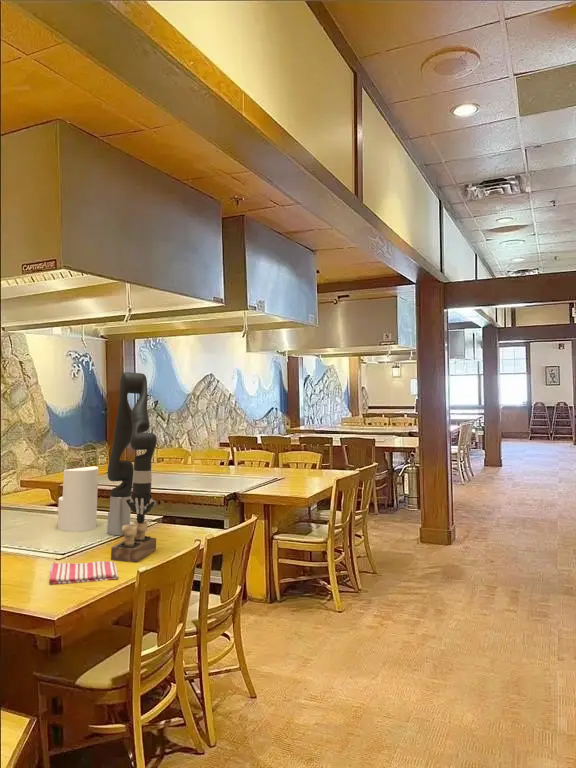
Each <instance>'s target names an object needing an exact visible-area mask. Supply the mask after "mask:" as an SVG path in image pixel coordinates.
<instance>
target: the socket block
mask: <svg viewBox="0 0 576 768" xmlns="http://www.w3.org/2000/svg"><path fill="white" fill-rule="evenodd" d="M110 548H111V550H110V560H111V561H119V562H128V561H130V563H131V562H132V563H138V562H140V561H141V560H143V559H145V558H146V557H147V556H149V555H150V553H151V554H152V553H154V552H155V551H156V550H157V537H152V536H148V535H145V539H144V540H139V539H135V537H134V545H133V546H124V539H123V540H121V541H120V542H118V543H116V544H114V545H112V546H111V547H110ZM153 551H154V552H153ZM148 554H149V555H148ZM145 556H146V557H145ZM142 558H143V559H142ZM139 560H140V561H139Z"/></svg>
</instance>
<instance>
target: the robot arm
mask: <svg viewBox="0 0 576 768" xmlns="http://www.w3.org/2000/svg"><path fill="white" fill-rule="evenodd" d="M147 379H148V378H147V377H146V374H145V373H140V372H131V371H129V372H128V371H126V372H123V373H122V374H121V377H120V380H119V393H118V405H117V413H116V419H115V424H114V431H113V441H112V448H111V453H110V457H109V460H108V465H107V478H108V481H110V482H121V483H120V484H119V485H117V486H115V487H113V488H112V489H110V494H109V495H110V499H109V502H110V503H109V512H107V524H106V525H107V526H106V527H107V528H106V529H107V530H106V531H107V532H106V534H109V535H110V536H111V535H112V536H123V535H122V526H124V525H131V514H132V513H135V514H136V522H138V523H143V522H145V518H146V517H145V516H146V515H145V514H147V513H149V512H150V511H151V510H152V509H153V508H154V507H155V505H156V504H157V500H154V499H153V496H152V494H151V493H152V480H153V479H152V476H153V475H152V461H153V460H152V459H153V455H154V452H155V449H156V445H157V443H158V442H157V436H156V435H155V433H152V432H148V431H149V430H150V427H151V426H150V419H149V414H148V412H149V411H148V380H147ZM128 394H138V395H139V398H138V400H137V402H136V403H135V405H134V406H133V407H132V408H131V406H130V403H129V399H128ZM128 446H130V447H131V449H132V450H136V451H145V452H144V453H143V454H140V455H137V456H136V455H135V457H134V459H133V462H132V461H131V460H129V459H128V460H121V457H122V454H123V452H124V451H125V450H126V448H127V447H128ZM147 505H148V506H147ZM131 511H132V513H131Z"/></svg>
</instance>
